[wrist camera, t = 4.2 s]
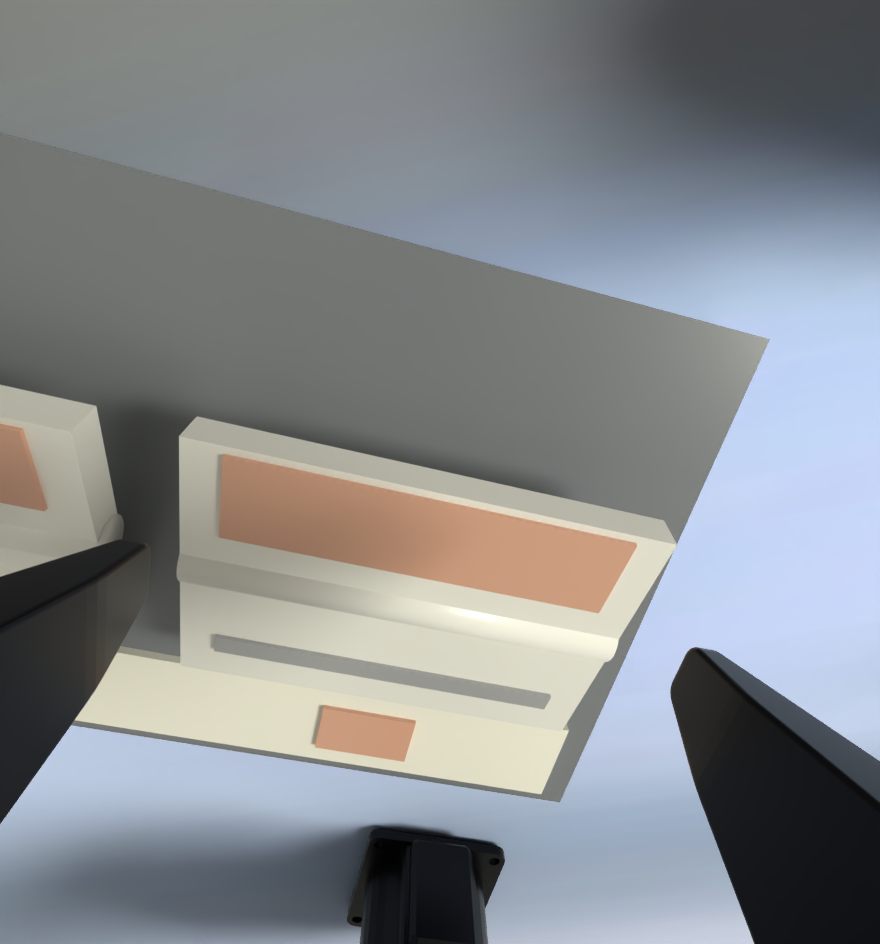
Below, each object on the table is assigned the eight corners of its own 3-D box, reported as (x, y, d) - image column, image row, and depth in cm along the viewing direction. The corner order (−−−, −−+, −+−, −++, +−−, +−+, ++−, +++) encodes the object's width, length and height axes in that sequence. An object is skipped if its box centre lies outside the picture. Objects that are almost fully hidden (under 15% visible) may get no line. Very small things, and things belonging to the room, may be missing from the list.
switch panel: (543, 738, 24) (562, 813, 21) (-214, 609, 21) (-333, 674, 17) (715, 326, 18) (780, 341, 14) (-333, 45, 14) (-552, -16, 11)
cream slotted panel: (555, 698, 19) (562, 737, 17) (196, 634, 17) (177, 671, 16) (661, 516, 14) (680, 550, 13) (199, 412, 13) (174, 440, 12)
